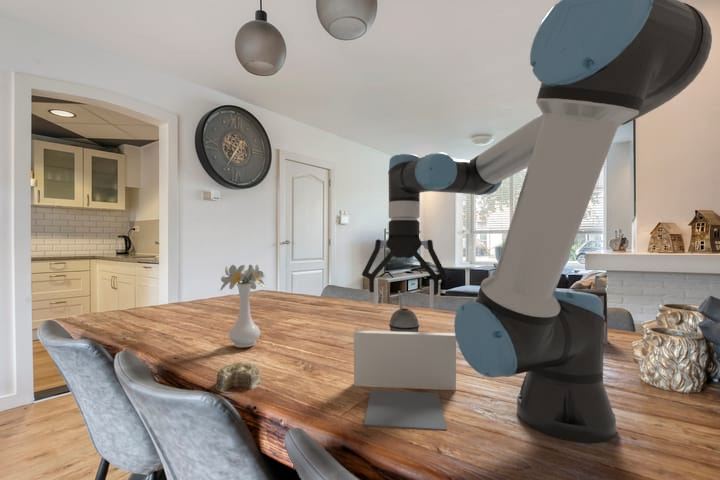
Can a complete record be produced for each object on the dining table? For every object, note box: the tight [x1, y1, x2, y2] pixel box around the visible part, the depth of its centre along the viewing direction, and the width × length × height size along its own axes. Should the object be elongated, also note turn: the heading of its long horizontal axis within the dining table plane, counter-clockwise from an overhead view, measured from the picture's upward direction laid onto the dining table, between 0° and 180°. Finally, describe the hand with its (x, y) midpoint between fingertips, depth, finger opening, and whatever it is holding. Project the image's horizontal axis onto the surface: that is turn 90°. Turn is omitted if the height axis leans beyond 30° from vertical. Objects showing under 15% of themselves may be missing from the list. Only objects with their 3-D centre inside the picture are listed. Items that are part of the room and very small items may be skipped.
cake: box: [214, 361, 262, 395], centre depth 80 cm, size 10×10×5 cm
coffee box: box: [573, 288, 609, 345], centre depth 115 cm, size 9×6×16 cm
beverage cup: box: [388, 290, 420, 332], centre depth 87 cm, size 7×7×20 cm
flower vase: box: [219, 264, 266, 348], centre depth 111 cm, size 13×18×25 cm
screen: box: [353, 329, 457, 391], centre depth 79 cm, size 22×2×12 cm, turn 83°
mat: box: [363, 389, 448, 431], centre depth 68 cm, size 14×14×1 cm
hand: (403, 306), depth 88 cm, fingers open, 13 cm apart
